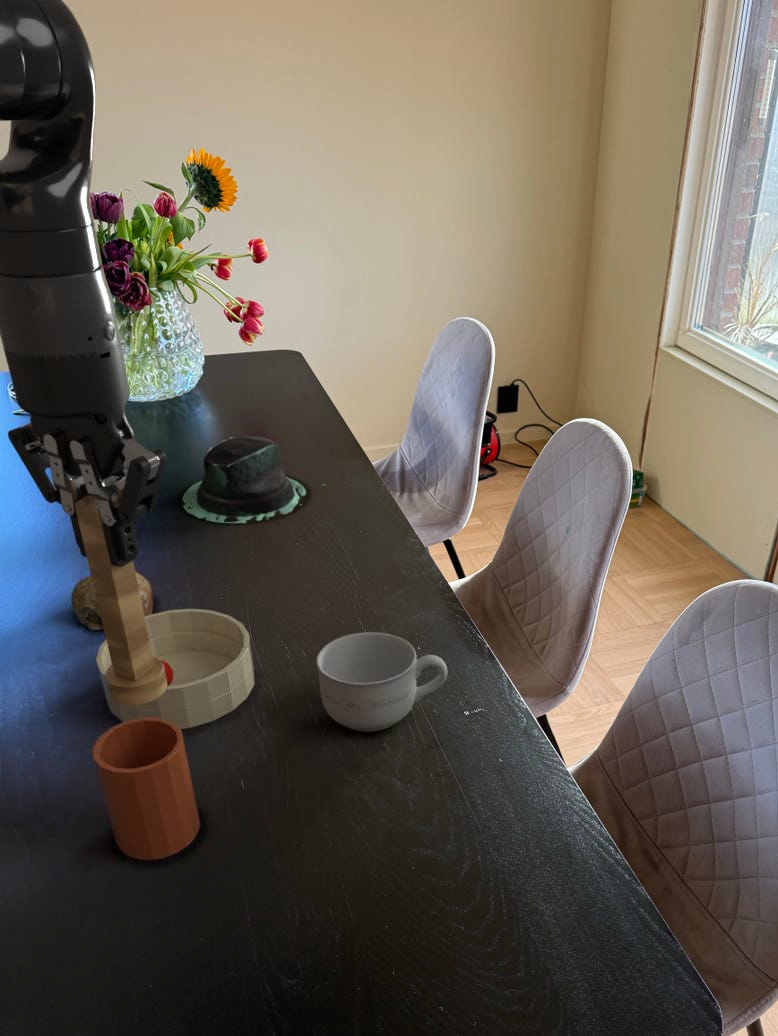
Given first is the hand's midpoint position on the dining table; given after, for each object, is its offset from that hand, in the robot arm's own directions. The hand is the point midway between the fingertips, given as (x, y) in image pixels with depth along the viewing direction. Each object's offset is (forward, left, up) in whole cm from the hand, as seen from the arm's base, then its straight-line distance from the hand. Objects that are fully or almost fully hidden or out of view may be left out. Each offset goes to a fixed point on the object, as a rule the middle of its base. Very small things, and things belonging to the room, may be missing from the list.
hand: (110, 557), depth 71 cm
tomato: (-13, +15, -25) cm, 32 cm away
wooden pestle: (0, 0, -13) cm, 13 cm away
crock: (+2, -3, -27) cm, 28 cm away
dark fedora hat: (-37, +63, -28) cm, 78 cm away
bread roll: (-30, +26, -28) cm, 49 cm away
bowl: (-11, +16, -27) cm, 34 cm away
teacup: (+12, +22, -28) cm, 37 cm away
